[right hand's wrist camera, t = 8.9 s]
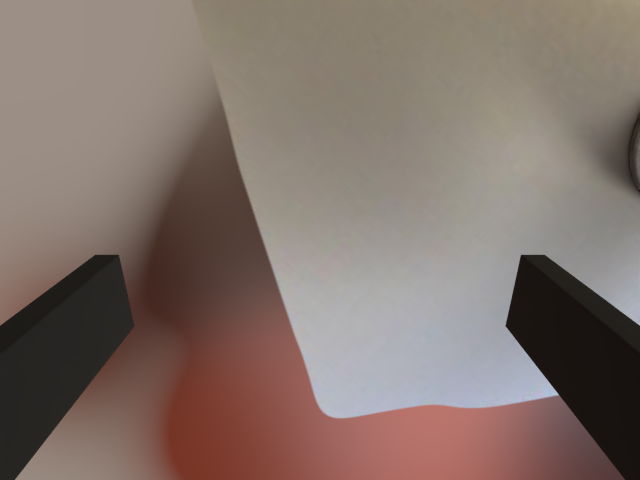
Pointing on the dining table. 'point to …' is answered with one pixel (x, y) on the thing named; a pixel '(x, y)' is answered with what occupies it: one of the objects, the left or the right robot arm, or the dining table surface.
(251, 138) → the dining table surface
